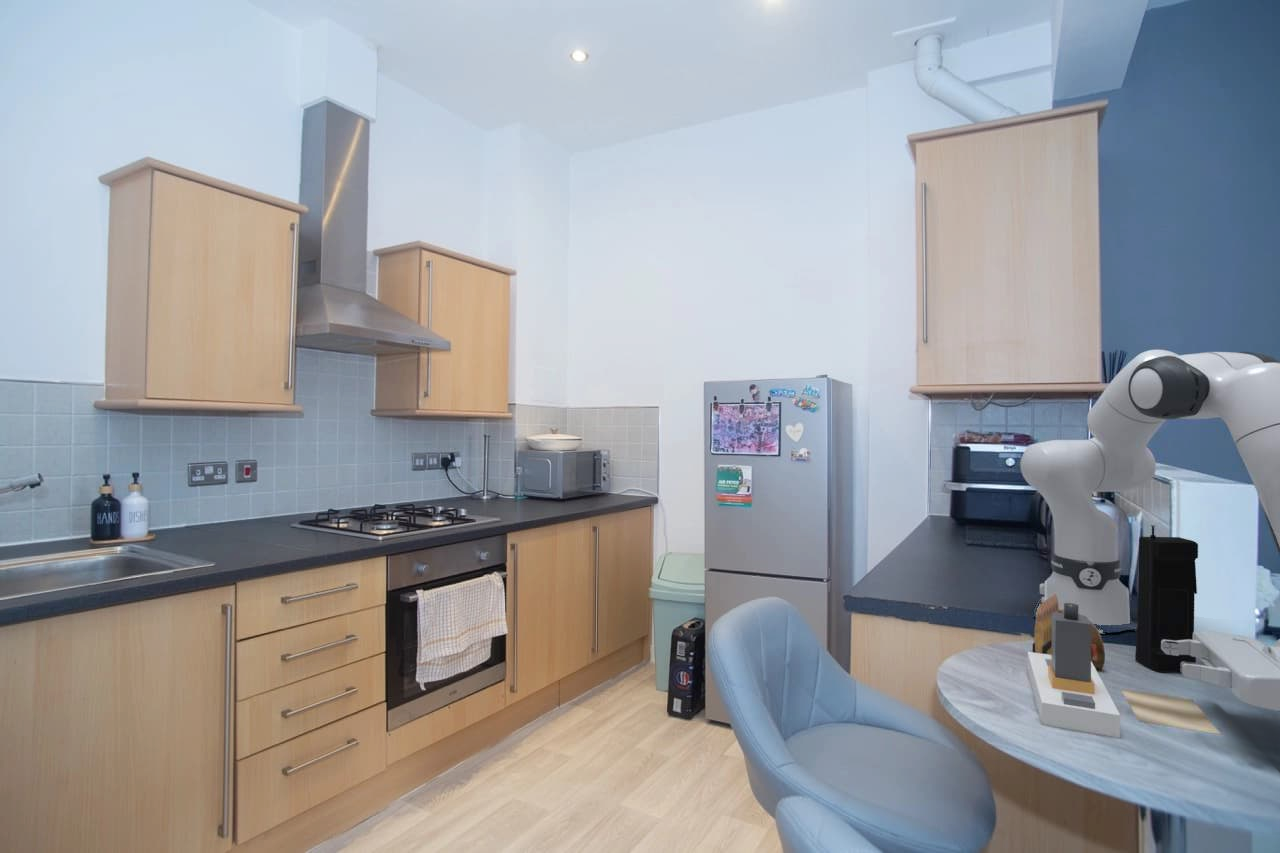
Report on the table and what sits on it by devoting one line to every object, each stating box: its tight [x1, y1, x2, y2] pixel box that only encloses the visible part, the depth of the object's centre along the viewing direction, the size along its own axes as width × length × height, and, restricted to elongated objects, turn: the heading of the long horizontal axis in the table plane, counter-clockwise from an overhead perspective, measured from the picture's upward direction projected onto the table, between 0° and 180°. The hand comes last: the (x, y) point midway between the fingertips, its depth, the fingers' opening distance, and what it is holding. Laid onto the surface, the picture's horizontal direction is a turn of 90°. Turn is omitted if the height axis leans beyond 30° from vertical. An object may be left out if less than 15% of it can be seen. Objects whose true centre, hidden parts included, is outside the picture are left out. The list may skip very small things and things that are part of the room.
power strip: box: [1026, 651, 1121, 739], centre depth 100 cm, size 22×9×5 cm, turn 154°
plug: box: [1048, 603, 1095, 694], centre depth 98 cm, size 5×5×15 cm
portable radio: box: [1134, 524, 1199, 673], centre depth 115 cm, size 8×6×25 cm
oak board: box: [1120, 688, 1222, 735], centre depth 96 cm, size 12×9×1 cm
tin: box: [1059, 610, 1106, 670], centre depth 118 cm, size 15×3×8 cm, turn 168°
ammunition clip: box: [1032, 594, 1059, 655], centre depth 116 cm, size 11×2×12 cm, turn 134°
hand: (1171, 657), depth 93 cm, fingers open, 8 cm apart
